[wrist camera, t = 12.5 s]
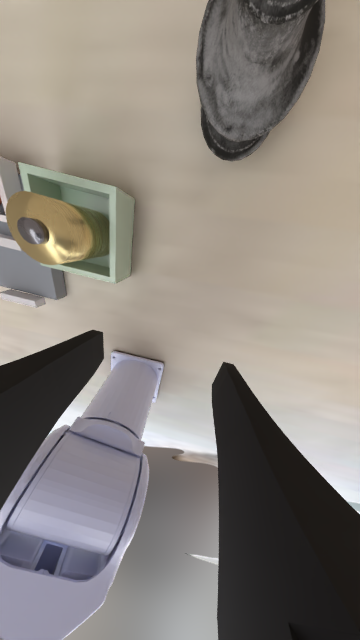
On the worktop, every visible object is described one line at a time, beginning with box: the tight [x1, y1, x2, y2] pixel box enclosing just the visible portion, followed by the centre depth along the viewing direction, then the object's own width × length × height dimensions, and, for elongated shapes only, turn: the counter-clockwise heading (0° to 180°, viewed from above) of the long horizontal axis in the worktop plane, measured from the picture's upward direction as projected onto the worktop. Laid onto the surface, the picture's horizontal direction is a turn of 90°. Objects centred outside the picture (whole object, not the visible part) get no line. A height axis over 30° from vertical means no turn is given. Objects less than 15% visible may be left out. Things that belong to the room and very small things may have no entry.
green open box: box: [18, 162, 135, 284], centre depth 14 cm, size 7×7×4 cm
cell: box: [6, 191, 110, 265], centre depth 12 cm, size 4×4×7 cm
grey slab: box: [0, 156, 67, 308], centre depth 15 cm, size 13×7×3 cm, turn 168°
